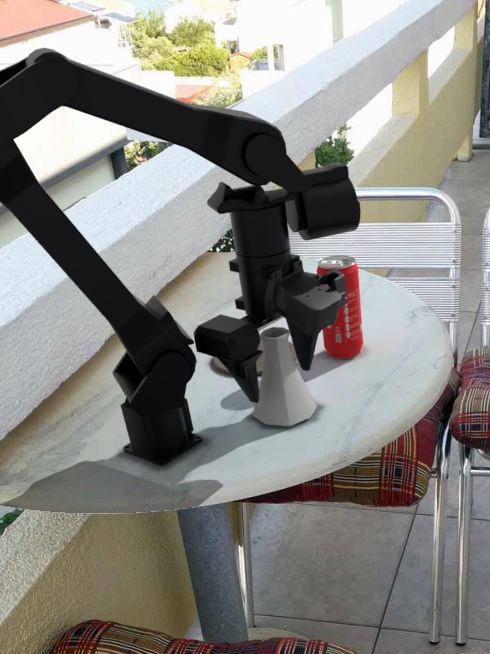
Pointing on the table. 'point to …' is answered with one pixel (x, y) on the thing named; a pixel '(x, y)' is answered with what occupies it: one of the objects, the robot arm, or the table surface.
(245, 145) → the robot arm
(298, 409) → the flask
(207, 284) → the table surface
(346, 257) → the beverage can
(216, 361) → the coaster
